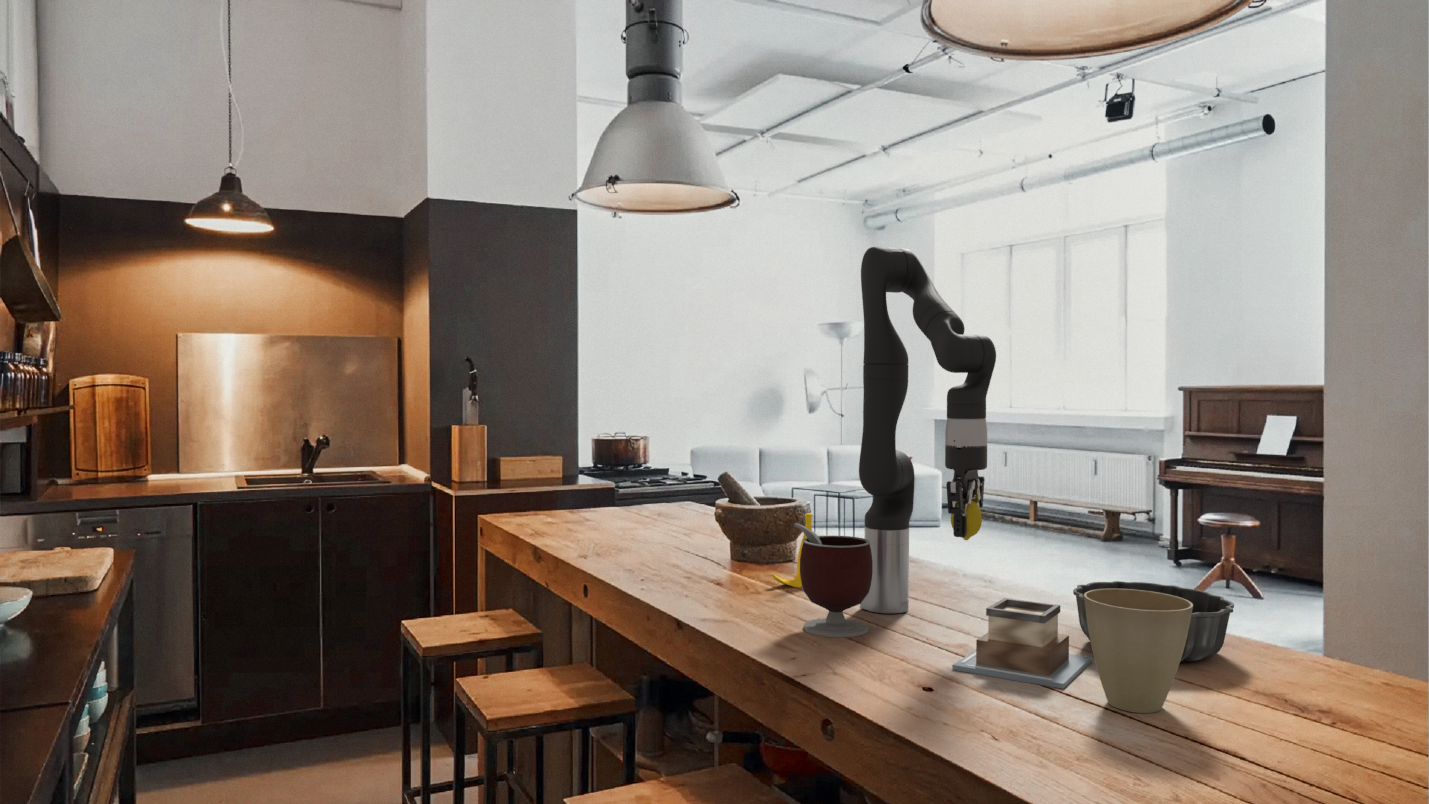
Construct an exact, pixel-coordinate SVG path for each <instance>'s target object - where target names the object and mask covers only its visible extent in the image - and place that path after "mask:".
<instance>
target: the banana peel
mask: <svg viewBox="0 0 1429 804" xmlns="http://www.w3.org/2000/svg"><path fill="white" fill-rule="evenodd" d="M804 518H805V519H804V520H805V527H806V528H808V529H810V530H811V531H813V528H812V522H813V521H812V520H813V513H811V512H810V513H809V512H807V513H805V514H804ZM805 538H807V537H806V535H805V534H804V533H803V536H802V539H801V543H800V545H799V550H798V554H797V562H796V563H797V564H796V573H795V577H794V578H793V579H784V578H781V577H779V576H778V575H776V574H774V573H771V575H770V576H771V577H772V578H773V579H774V581H776V582H778V583H780V584H782V585H786V586H790V587H793V588H803V587H802V583H801V576H800V557H801V550H802V546H803V539H805Z"/></svg>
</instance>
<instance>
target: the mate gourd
mask: <svg viewBox="0 0 1429 804" xmlns="http://www.w3.org/2000/svg"><path fill="white" fill-rule="evenodd" d="M793 526H794V527H795V528H797V529H799V530H800V531H801V532H802V533H803V535H804V534H805V535H806V537H807V538H805V539H803V538H802V539H803V546H802V550H801V557H800V576H801V583H802V587H801V588H802V590H803V592H804V594H805V595H806V597H807V598H808V599H809V601H810V602H811V603H812V604H814V605H817V606H819V607H821V608H822V609H825V610H827V611H828V613H827V615H826V617H823V618H815V619H811V620H807V621H805V622H804V623H803V630H804V632H807V633H809V634H811V635H816V636H819V637H825V638H852V637H858V636H860V637H861V636H862V635H865V634H867V633H868V632H869V631H868V629H869V627H868V625H867V624H866V623H864V622H861V621H859V620H854V619H848V618H846V617H845V615H844V613H843V611H846V610H848V609H851V608H854V607H856V606H858V605H859V606H860V604H861V602H862V601H863V600H864V598H865V597H866V596H867V594H868V593H869V590H870V586H871V581H872V573H873V561H872V553H871V548H870V541H869V540H867V539H865V537H864V538H863V537H859V536H852V535H851V536H850V535H849V536H848V535H817V534H816V532H814V531H813V530H812V531H811V530H810V529H808V528H806V526H805V525H802V524H800V523H798V522H795V523H794V525H793Z"/></svg>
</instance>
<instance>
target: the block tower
mask: <svg viewBox="0 0 1429 804" xmlns="http://www.w3.org/2000/svg"><path fill="white" fill-rule="evenodd" d="M1060 613H1061V605H1060V604H1056V603H1055V604H1053V603H1046V602H1039V601H1030V600H1021V599H1016V598H1015V599H1014V598H1007V597H1004V598H1001V599H1000V600H999V601H997V602H995V603H993V604H991V605H989V606H988V607H986V609H985V616H986V617H988V618H987V619H988V625H987V626H988V628H987V629H988V632H986V633H985V634H983V635H981V636H980V637H979V638H977V639H976V640H975V641H976V647H975V648H976V649H975V650H976V664H982V665H988V666H994V667H1000V668H1006V669H1012V670H1018V671H1024V672H1030V673H1036V674H1042V675H1048V676H1050V675H1051V674H1052V673H1053V672H1054V671H1055V670H1056V669H1057V668H1059V667H1060V666H1061V665H1062V664H1063V663H1064V662H1065V661H1066V660H1068V659H1069V654H1070V635H1069V634H1064V633H1059V632H1058V631H1059V625H1058V624H1059V614H1060Z"/></svg>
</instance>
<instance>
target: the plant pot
mask: <svg viewBox="0 0 1429 804" xmlns="http://www.w3.org/2000/svg"><path fill="white" fill-rule="evenodd" d="M1084 600H1085V609H1086V617H1087V625H1088V631H1089V636H1090V640H1089V642H1090V641H1091V642H1090V644H1091V649H1092V654H1093V657H1094V662H1095V666H1096V669H1097V673H1098V676H1099V680H1100V682H1101V685H1102V689H1103V691H1104V695H1105V698H1106V701H1107V702H1108V704H1109V705H1110V706H1112V707H1114V708H1116V709H1118V710H1122V711H1126V712H1131V713H1140V714H1153V713H1154V714H1155V713H1157V712H1159V711H1161V710H1162V708H1163V706H1164V704H1165V702H1166V701H1167V697H1168V695H1169V692H1170V691H1171V688H1172V686H1173V683H1174V681H1175V677H1176V675H1177V672H1178V670H1179V666H1180V663H1181V662H1182V661H1181V657H1182V654H1183V651H1184V647H1185V643H1186V639H1187V635H1188V630H1189V625H1190V620H1191V615H1192V609H1193V604H1192V603H1191V602H1190V601H1188V600H1186V599H1183V598H1180V597H1177V596H1173V595H1168V594H1164V593H1158V592H1151V591H1144V590H1134V589H1096V590H1091V591H1088V592H1086V593H1085V594H1084ZM1180 661H1181V662H1180Z"/></svg>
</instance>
